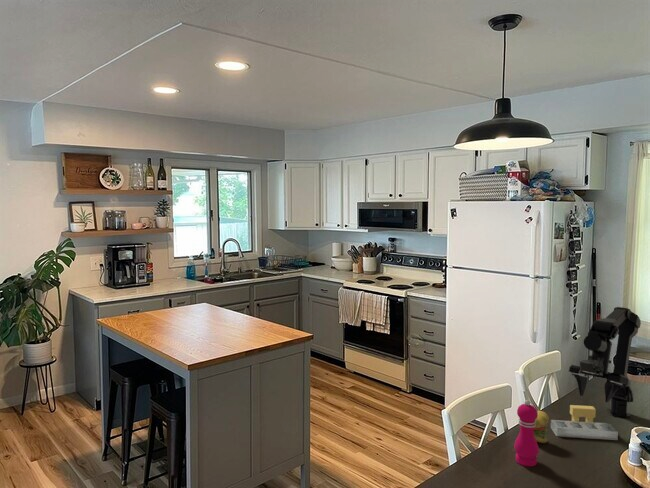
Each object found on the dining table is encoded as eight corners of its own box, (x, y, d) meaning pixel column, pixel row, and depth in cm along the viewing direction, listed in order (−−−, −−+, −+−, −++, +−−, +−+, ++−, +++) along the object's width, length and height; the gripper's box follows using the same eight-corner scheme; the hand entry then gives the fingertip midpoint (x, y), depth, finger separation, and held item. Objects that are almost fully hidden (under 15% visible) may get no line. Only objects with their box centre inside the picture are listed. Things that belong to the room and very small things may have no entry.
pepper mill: (540, 468, 152) (542, 405, 151) (516, 466, 154) (517, 403, 152) (535, 457, 159) (537, 396, 158) (512, 455, 161) (513, 395, 160)
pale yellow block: (572, 423, 185) (572, 408, 184) (569, 420, 188) (570, 404, 187) (595, 425, 184) (595, 409, 183) (592, 421, 186) (592, 406, 186)
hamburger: (552, 446, 167) (553, 411, 166) (532, 447, 166) (533, 412, 165) (540, 436, 174) (541, 403, 174) (521, 437, 174) (522, 403, 173)
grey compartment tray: (556, 436, 174) (556, 427, 174) (550, 427, 181) (550, 419, 181) (617, 440, 171) (617, 431, 171) (609, 431, 178) (609, 423, 178)
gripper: (563, 346, 182) (556, 389, 179) (614, 355, 166) (607, 401, 163) (581, 352, 187) (574, 394, 184) (632, 361, 171) (625, 407, 168)
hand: (593, 398), depth 175 cm, fingers open, 9 cm apart
